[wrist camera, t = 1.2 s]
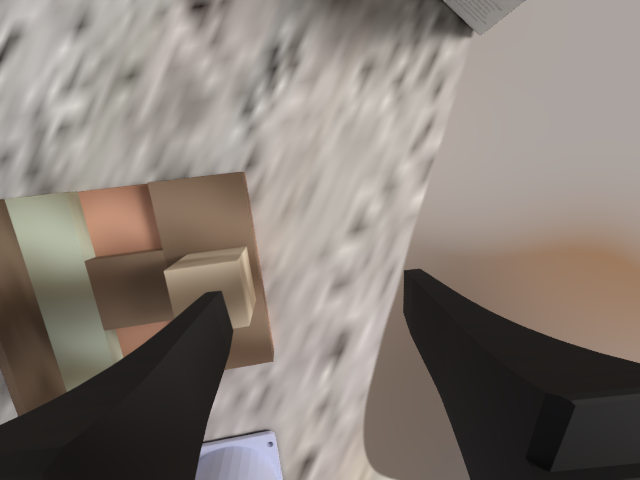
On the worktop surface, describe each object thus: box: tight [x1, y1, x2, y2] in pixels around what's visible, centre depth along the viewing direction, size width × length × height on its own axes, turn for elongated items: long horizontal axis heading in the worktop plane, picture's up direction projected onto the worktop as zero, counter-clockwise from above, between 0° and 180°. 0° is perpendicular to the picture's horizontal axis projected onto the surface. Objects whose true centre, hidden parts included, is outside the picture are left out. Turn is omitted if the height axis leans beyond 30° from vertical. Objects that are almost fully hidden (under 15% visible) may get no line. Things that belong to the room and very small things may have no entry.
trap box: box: [0, 172, 274, 417], centre depth 20 cm, size 14×15×4 cm
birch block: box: [164, 246, 256, 329], centre depth 19 cm, size 4×4×4 cm
